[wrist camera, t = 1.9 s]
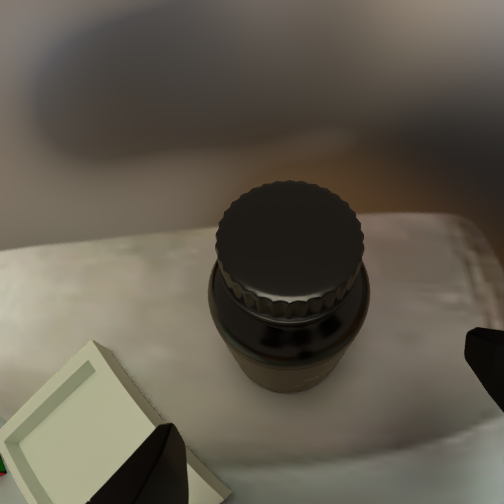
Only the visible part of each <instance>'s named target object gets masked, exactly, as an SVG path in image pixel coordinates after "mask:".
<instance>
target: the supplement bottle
mask: <svg viewBox="0 0 504 504" xmlns="http://www.w3.org/2000/svg"><path fill="white" fill-rule="evenodd" d="M216 240H217V242H216V245H215V250H216V253H217V256H218V258H217V260H216V262H215V264H214V266H213V269H212V272H211V275H210V279H209V284H208V303H209V308H210V313H211V316H212V318H213V321H214V324H215V326H216V328H217V330H218V332H219V333H220V335H221V337H222V338H223V340H224V342H225V343H226V345H227V347H228V348H229V350H230V351H231V353H232V355H233V356H234V358H235V359H236V361H237V363H238V364H239V366H240V367H241V369H242V370H243V371H244V373H245V374H246V375H247V376H248V377H249V378H250V379H251V380H252V381H254V382H255V383H257V384H258V385H260V386H262V387H264V388H266V389H268V390H272V391H275V392H282V393H292V392H299V391H303V390H306V389H308V388H311V387H313V386H315V385H316V384H318V383H319V382H321V381H322V380H323V379H324V378H326V377H327V376H328V374H329V373H330V372H331V371H332V370H333V369H334V367H335V366H336V365H337V363H338V362H339V360H340V359H341V358H342V356H343V355H344V353H345V352H346V350H347V349H348V348H349V346H350V345H351V343H352V342H353V340H354V339H355V337H356V336H357V334H358V333H359V331H360V329H361V327H362V325H363V323H364V320H365V318H366V315H367V312H368V308H369V302H370V284H369V278H368V274H367V271H366V268H365V265H364V263H363V261H362V256H363V253H364V244H363V240H364V234H363V232H362V231H361V223H360V222H359V220H358V219H357V218H356V214H355V212H354V211H353V210H351V209H350V207H349V205H348V203H347V202H345V201H343V200H341V198H340V197H339V196H338V195H337V194H334V193H331V192H330V191H329V190H328V189H326V188H321V187H319V186H318V185H316V184H308V183H306V182H303V181H299V182H295V181H291V180H289V181H285V182H281V181H276V182H274V183H272V184H263V185H262V186H261V187H257V188H253V189H251V190H250V191H249V192H248V193H245V194H243V195H241V196H240V198H239V199H238V200H236V201H234V202H232V204H231V206H230V208H229V209H227V210H226V211H225V212H224V217H223V219H221V221H220V222H219V229H218V231H217V232H216Z"/></svg>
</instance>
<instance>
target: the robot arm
mask: <svg viewBox="0 0 504 504" xmlns="http://www.w3.org/2000/svg"><path fill="white" fill-rule="evenodd" d="M464 356H465V359H466V361H467V363H468V364H469V366H470V367H471V369H472V370H473V371H474V373H475V374H476V376H477V377H478V379H479V380H480V382H481V383H482V385H483V387H484V388H485V389H486V391H487V392H488V394H489V395H490V396H491V397H492V399H493V400H494V401H495V402H496V404H497V405H498V406H499V407H500V409H501V410H502V411H503V412H504V331H502V330H495V329H488V328H481V327H476V328H474V329H472V330H470V331H468V332H467V334H466V340H465V350H464ZM85 504H189V485H188V473H187V459H186V447H185V443H184V441H183V439H182V437H181V435H180V434H179V432H178V430H177V428H176V426H175V425H174V424H173V423H166V424H160V425H158V426H157V427H156V428H155V429H154V430H153V432H152V433H151V434H150V435H149V436H148V437H147V438H146V439H145V440H144V442H143V443H142V444H141V445H140V446H139V447H138V448H137V449H136V450H135V451H134V453H133V454H132V455H131V456H130V457H129V458H128V459H127V460H126V461H125V462H124V463H123V464H122V466H121V467H120V468H119V469H118V470H117V471H116V472H115V473H114V474H113V475H112V476H111V477H110V478H109V479H108V480H107V481H106V483H105V484H104V485H103V486H102V487H101V488H100V489H99V490H98V491H97V492H96V493H95V494H94V495H93V496H92V497H91V498H90V501H87V502H86V503H85Z"/></svg>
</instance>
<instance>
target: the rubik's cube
mask: <svg viewBox="0 0 504 504" xmlns="http://www.w3.org/2000/svg"><path fill="white" fill-rule="evenodd" d="M6 473H7V472H6V469H5V466H4V464H3V461H2V458H1V456H0V476H2V475H4V474H6Z"/></svg>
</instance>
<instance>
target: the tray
mask: <svg viewBox="0 0 504 504" xmlns="http://www.w3.org/2000/svg"><path fill="white" fill-rule="evenodd" d="M160 424H166V423H165V422H164V421H163V419H162V418H161V417H160V416H159V415H158V414H157V412H156V411H155V410H154V409H153V407H152V406H151V405H150V404H149V403H148V401H147V400H146V399H145V398H144V396H143V395H142V394H141V392H140V391H139V390H138V389H137V387H136V386H135V385H134V383H133V382H132V381H131V379H130V378H129V377H128V375H127V374H126V373H125V371H124V370H123V368H122V367H121V366H120V364H119V363H118V361H117V360H116V359H115V357H114V356H113V354H112V353H111V351H110V350H109V349H107V348H106V347H104V346H102V345H100V344H99V343H97V342H95V341H94V340H92V339H91V340H90V341H89V342H88V343H87V344H86V345H85V346H84V347H83V348H82V349H81V350H79V351H78V352H77V353H76V354H75V355H74V356H73V357H72V358H71V359H70V360H69V361H68V362H67V363H66V364H65V365H64V366H63V367H62V368H61V369H60V370H59V371H58V372H57V373H56V374H55V375H53V376H52V377H51V378H50V379H49V380H48V381H47V382H46V383H45V384H44V385H43V386H42V387H41V388H40V389H39V390H38V391H37V392H36V393H35V394H34V395H33V396H32V397H31V398H30V399H29V400H28V401H27V402H26V403H25V404H24V405H23V406H22V407H21V408H20V409H19V410H18V411H17V412H16V413H15V414H14V415H13V416H12V418H11V419H10V420H9V421H8V422H7V423H6V424H5V425H4V426H3V427H2V428H1V429H0V452H1V454H2V456H3V458H4V460H5V462H6V464H7V466H8V468H9V470H10V472H11V474H12V476H13V478H14V480H15V481H16V483H17V485H18V487H19V489H20V490H21V492H22V494H23V495H24V497H25V499H26V500H27V502H28V504H85V503H86V502H87V501H90V498H91V497H92V496H93V495H94V494H95V493H96V492H97V491H98V490H99V489H100V488H101V487H102V486H103V485H104V484H105V483H106V481H107V480H108V479H109V478H110V477H111V476H112V475H113V474H114V473H115V472H116V471H117V470H118V469H119V468H120V467H121V466H122V464H123V463H124V462H125V461H126V460H127V459H128V458H129V457H130V456H131V455H132V454H133V453H134V451H135V450H136V449H137V448H138V447H139V446H140V445H141V444H142V443H143V442H144V440H145V439H146V438H147V437H148V436H149V435H150V434H151V433H152V432H153V430H154V429H155V428H156V427H157V426H158V425H160ZM185 447H186V459H187V473H188V485H189V504H220V503H221V502H222V501H224V500H225V499H226V498H227V497H228V496H229V495H230V494H231V493H232V491H231V490H230V489H229V488H228V487H227V486H225V485H224V484H223V483H222V482H221V481H220V480H219V479H218V478H217V477H216V476H215V475H214V474H213V473H212V472H211V471H210V470H209V469H208V468H207V467H206V466H205V465H204V464H203V463H202V462H201V461H200V460H199V459H198V458H197V457H196V456H195V455H194V454H193V453H192V452H191V451H190V450H189V449H188V448H187V446H186V445H185Z"/></svg>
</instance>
